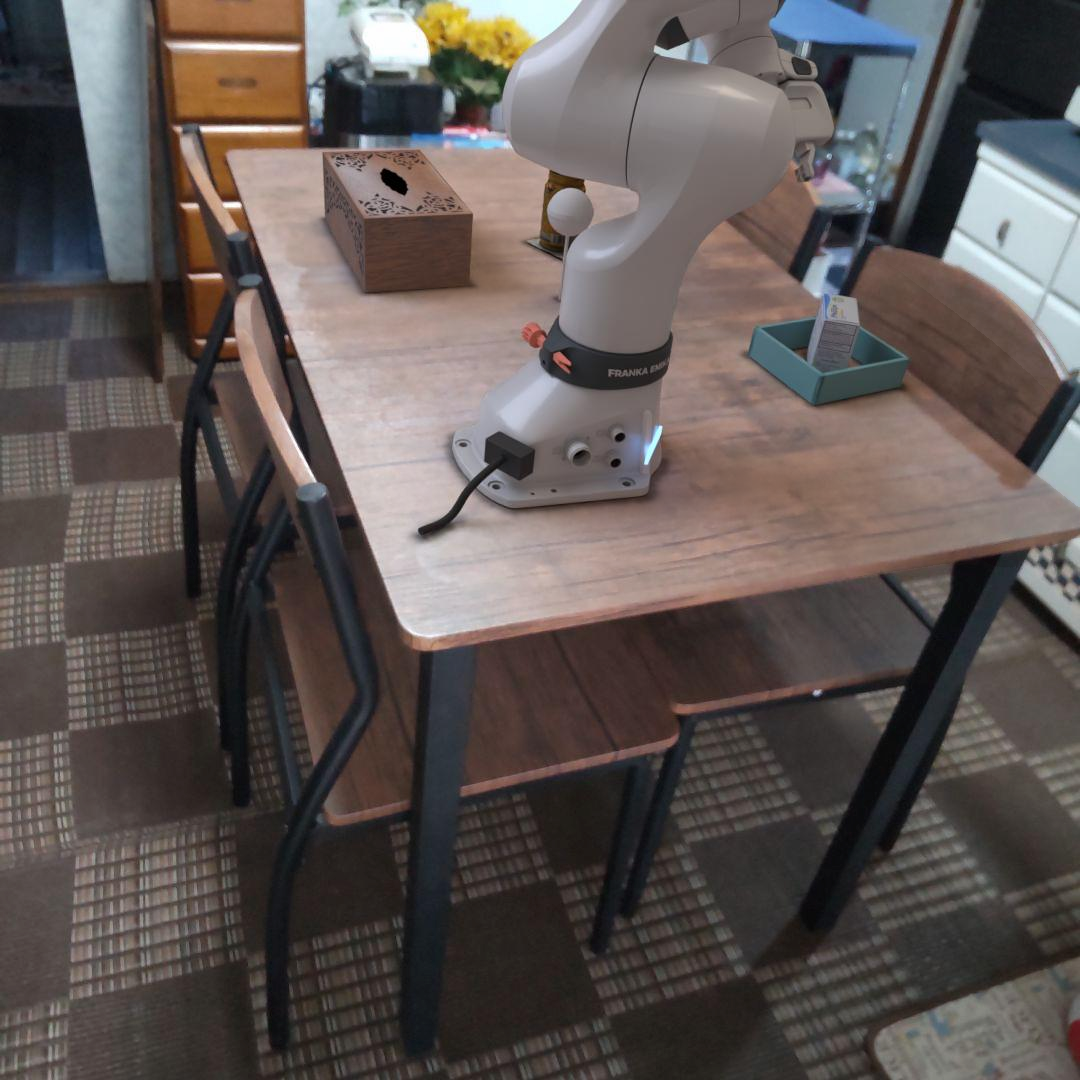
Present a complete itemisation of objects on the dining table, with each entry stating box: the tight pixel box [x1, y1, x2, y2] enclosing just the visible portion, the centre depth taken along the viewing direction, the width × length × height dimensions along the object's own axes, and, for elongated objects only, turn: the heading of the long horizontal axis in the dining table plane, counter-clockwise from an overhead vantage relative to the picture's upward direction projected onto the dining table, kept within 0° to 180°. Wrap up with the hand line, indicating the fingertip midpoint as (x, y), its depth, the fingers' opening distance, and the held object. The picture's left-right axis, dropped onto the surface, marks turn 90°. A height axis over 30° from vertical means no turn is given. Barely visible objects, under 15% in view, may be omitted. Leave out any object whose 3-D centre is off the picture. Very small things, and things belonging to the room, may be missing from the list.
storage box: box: [747, 315, 911, 406], centre depth 125 cm, size 14×13×4 cm
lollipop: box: [547, 188, 595, 301], centre depth 131 cm, size 6×6×15 cm
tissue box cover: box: [321, 149, 474, 294], centre depth 140 cm, size 26×14×10 cm, turn 21°
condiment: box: [526, 169, 587, 260], centre depth 146 cm, size 7×8×12 cm
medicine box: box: [806, 293, 861, 373], centre depth 124 cm, size 8×4×9 cm, turn 168°
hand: (777, 182), depth 126 cm, fingers open, 8 cm apart
